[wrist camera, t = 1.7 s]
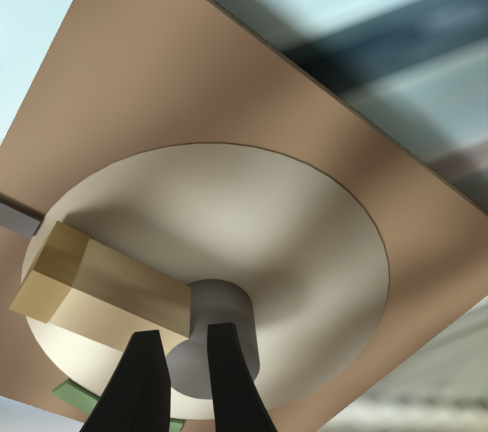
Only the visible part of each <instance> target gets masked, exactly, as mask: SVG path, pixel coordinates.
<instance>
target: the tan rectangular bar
mask: <svg viewBox="0 0 488 432" xmlns="http://www.w3.org/2000/svg"><path fill="white" fill-rule="evenodd" d="M9 309H10V310H13V311H15V312H18V313H20V314H23V315H25V316H28V317H30V318H33V319H35V320H38V321H40V322H43V323H45V324H47V322H48V323H51V324H53V325H56V326H58V327H61V328H63V329H66V330H68V331H71V332H73V333H76V334H78V335H81V336H83V337H86V338H88V339H91V340H93V341H96V342H98V343H101V344H103V345H106V346H108V347H111V348H113V349H116V350H118V351H121V352H123V353H124V351H125V349H126V346H127V344H128V342H129V340H130V338H131V335H132V334H133V333H134V332H138V331H148V330H158V329H159V332H160V336H161V340H162V345H163V349H164V353H165V358H166V362H167V366H168V370H169V375H170V379H171V387H172V388H173V389H174V390H176V391H177V392H179V393H181V394H183V395H185V396H189V397H192V398H196V399H206V400H211V399H212V392H211V383H210V374H209V365H208V356H207V329H208V325H209V324H219V323H229V322H232V323H234V324H235V325H236V328H237V334H238V339H239V343H240V346H241V350H242V353H243V356H244V359H245V362H246V364H247V367H248V370H249V372H250V375H251V377H252V379H253V382H254V381H255V379H256V378H257V376H258V374H259V370H260V360H259V352H258V344H257V336H256V328H255V320H254V312H253V305H252V301H251V299H250V297H249V296H248V294H247V293H246V292H245V291H244V290H243V289H242V288H240V287H239V286H237V285H235V284H233V283H231V282H228V281H224V280H218V279H206V280H200V281H196V282H193V283H190V284H188V285H185V284H183V283H181V282H179V281H177V280H175V279H173V278H171V277H169V276H167V275H165V274H163V273H161V272H159V271H157V270H154V269H152V268H150V267H148V266H146V265H144V264H142V263H140V262H138V261H136V260H134V259H132V258H130V257H128V256H126V255H124V254H122V253H120V252H117V251H115V250H113V249H111V248H109V247H107V246H105V245H103V244H101V243H99V242H97V241H95V240H93V239H91V238H90V236H89V235H87V234H85V233H82V232H80V231H78V230H76V229H74V228H72V227H70V226H68V225H66V224H64V223H62V222H60V221H58V220H57V222H56V223H55V225H54V227H53V228H52V230H51V232H50V233H49V235H48V236H47V238H46V240H45V241H44V243H43V245H42V246H41V248H40V249H39V251H38V253H37V254H36V256H35V258H34V260H33V262H32V264H31V266H30V268H29V270H28V272H27V274H26V276H25V277H24V279H23V281H22V283H21V285H20V287H19V289H18V291H17V293H16V295H15V297H14V299H13V301H12V303H11V305H10V307H9Z"/></svg>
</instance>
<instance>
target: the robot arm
mask: <svg viewBox="0 0 488 432" xmlns="http://www.w3.org/2000/svg"><path fill="white" fill-rule="evenodd" d="M207 356H208V365H209V374H210V383H211V392H212V400H213V409H214V418H215V431H216V432H278V431H277V429H276V427H275V425H274V423H273V422H272V420H271V418H270V416H269V414H268V412H267V410H266V408H265V406H264V404H263V402H262V400H261V398H260V395H259V393H258V391H257V389H256V386H255V384H254V382H253V379H252V377H251V375H250V372H249V370H248V367H247V364H246V362H245V359H244V356H243V353H242V350H241V346H240V343H239V339H238V334H237V328H236V325H235V324H234V323H232V322H229V323H219V324H209V325H208V329H207ZM170 412H171V379H170V375H169V370H168V366H167V362H166V358H165V353H164V349H163V345H162V340H161V336H160V332H159V329H158V330H148V331H138V332H134V333H133V334H132V335H131V338H130V340H129V342H128V344H127V346H126V349H125V351H124V353H123V355H122V357H121V359H120V361H119V363H118V365H117V367H116V369H115V371H114V373H113V375H112V377H111V378H110V380H109V382H108V384H107V386H106V388H105V389H104V391H103V393H102V395H101V396H100V398H99V400H98V402H97V404H96V405H95V407H94V409H93V410H92V412H91V414H90V415H89V417H88V419H87V420H86V422H85V423H84V425H83V427H82V428H81V430H80V431H79V432H169V428H170Z"/></svg>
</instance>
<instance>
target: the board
mask: <svg viewBox="0 0 488 432" xmlns="http://www.w3.org/2000/svg"><path fill="white" fill-rule="evenodd" d="M57 220H58V221H60V222H62V223H64V224H66V225H68V226H70V227H72V228H74V229H76V230H78V231H80V232H82V233H85V234H87V235H89V236H90V238H91V239H93V240H95V241H97V242H99V243H101V244H103V245H105V246H107V247H109V248H111V249H113V250H115V251H117V252H120V253H122V254H124V255H126V256H128V257H130V258H132V259H134V260H136V261H138V262H140V263H142V264H144V265H146V266H148V267H150V268H152V269H154V270H157V271H159V272H161V273H163V274H165V275H167V276H169V277H171V278H173V279H175V280H177V281H179V282H181V283H183V284H185V285H188V284H190V283H193V282H196V281H200V280H206V279H218V280H224V281H228V282H231V283H233V284H235V285H237V286H239V287H240V288H242V289H243V290H244V291H245V292H246V293H247V294H248V296H249V297H250V299H251V301H252V305H253V312H254V320H255V328H256V336H257V344H258V352H259V360H260V370H259V374H258V376H257V378H256V379H255V381H254V384H255V386H256V389H257V391H258V393H259V395H260V398H261V400H262V402H263V404H264V406H265V408H266V410H267V412H268V414H269V416H270V418H271V420H272V422H273V423H274V425H275V427H276V429H277V431H278V432H315V431H317V430H318V429H319V428H320V427H322V426H323V425H324V424H325V423H327V422H328V421H329V420H331V419H332V418H333V417H334V416H336V415H337V414H338V413H339V412H341V411H342V410H343V409H344V408H346V407H347V406H348V405H349V404H351V403H352V402H353V401H354V400H356V399H357V398H358V397H360V396H361V395H362V394H363V393H365V392H366V391H367V390H368V389H370V388H371V387H372V386H373V385H375V384H376V383H377V382H378V381H380V380H381V379H382V378H383V377H385V376H386V375H387V374H389V373H390V372H391V371H392V370H394V369H395V368H396V367H397V366H399V365H400V364H401V363H402V362H404V361H405V360H406V359H407V358H409V357H410V356H411V355H413V354H414V353H415V352H416V351H418V350H419V349H420V348H421V347H423V346H424V345H425V344H426V343H428V342H429V341H430V340H431V339H433V338H434V337H435V336H436V335H438V334H439V333H440V332H442V331H443V330H444V329H445V328H447V327H448V326H449V325H450V324H452V323H453V322H454V321H455V320H457V319H458V318H459V317H460V316H462V315H463V314H464V313H465V312H467V311H468V310H469V309H471V308H472V307H473V306H474V305H476V304H477V303H478V302H479V301H481V300H482V299H483V298H484V297H486V296H487V295H488V212H486V211H485V210H484V209H483V208H481V207H480V206H479V205H477V204H476V203H475V202H473V201H472V200H471V199H470V198H468V197H467V196H466V195H464V194H463V193H462V192H461V191H459V190H458V189H457V188H455V187H454V186H453V185H452V184H450V183H449V182H448V181H446V180H445V179H444V178H442V177H441V176H440V175H439V174H437V173H436V172H435V171H433V170H432V169H431V168H430V167H428V166H427V165H426V164H424V163H423V162H422V161H421V160H419V159H418V158H417V157H415V156H414V155H413V154H411V153H410V152H409V151H408V150H406V149H405V148H404V147H402V146H401V145H400V144H399V143H397V142H396V141H395V140H393V139H392V138H391V137H390V136H388V135H387V134H386V133H384V132H383V131H382V130H380V129H379V128H378V127H377V126H375V125H374V124H373V123H371V122H370V121H369V120H368V119H366V118H365V117H364V116H362V115H361V114H360V113H358V112H357V111H356V110H355V109H353V108H352V107H351V106H349V105H348V104H347V103H346V102H344V101H343V100H342V99H340V98H339V97H338V96H337V95H335V94H334V93H333V92H331V91H330V90H329V89H327V88H326V87H325V86H324V85H322V84H321V83H320V82H318V81H317V80H316V79H315V78H313V77H312V76H311V75H309V74H308V73H307V72H306V71H304V70H303V69H302V68H300V67H299V66H298V65H296V64H295V63H294V62H293V61H291V60H290V59H289V58H287V57H286V56H285V55H284V54H282V53H281V52H280V51H278V50H277V49H276V48H274V47H273V46H272V45H271V44H269V43H268V42H267V41H265V40H264V39H263V38H262V37H260V36H259V35H258V34H256V33H255V32H254V31H253V30H251V29H250V28H249V27H247V26H246V25H245V24H243V23H242V22H241V21H240V20H238V19H237V18H236V17H234V16H233V15H232V14H231V13H229V12H228V11H227V10H225V9H224V8H223V7H222V6H220V5H219V4H218V3H216V2H215V1H214V0H73V1H72V3H71V5H70V7H69V9H68V11H67V13H66V15H65V17H64V19H63V21H62V23H61V25H60V27H59V29H58V31H57V33H56V35H55V37H54V39H53V41H52V43H51V46H50V48H49V50H48V52H47V54H46V56H45V58H44V60H43V62H42V64H41V66H40V68H39V70H38V72H37V74H36V76H35V78H34V80H33V82H32V84H31V86H30V88H29V90H28V92H27V94H26V96H25V98H24V100H23V102H22V104H21V106H20V108H19V110H18V112H17V114H16V116H15V118H14V120H13V122H12V124H11V126H10V128H9V130H8V132H7V134H6V136H5V138H4V140H3V142H2V144H1V146H0V396H3V397H6V398H9V399H12V400H16V401H19V402H22V403H25V404H28V405H31V406H34V407H37V408H40V409H43V410H46V411H49V412H52V413H55V414H58V415H62V416H65V417H68V418H71V419H74V420H77V421H80V422H83V423H85V422H86V420H87V419H88V417H89V415H90V414H91V412H92V410H93V409H94V407H95V405H96V404H97V402H98V400H99V398H100V396H101V395H102V393H103V391H104V389H105V388H106V386H107V384H108V382H109V380H110V378H111V377H112V375H113V373H114V371H115V369H116V367H117V365H118V363H119V361H120V359H121V357H122V355H123V352H121V351H118V350H116V349H113V348H111V347H108V346H106V345H103V344H101V343H98V342H96V341H93V340H91V339H88V338H86V337H83V336H81V335H78V334H76V333H73V332H71V331H68V330H66V329H63V328H61V327H58V326H56V325H53V324H51V323H48V322H47V324H45V323H43V322H40V321H38V320H35V319H33V318H30V317H28V316H25V315H23V314H20V313H18V312H15V311H13V310H10V309H9V307H10V305H11V303H12V301H13V299H14V297H15V295H16V293H17V291H18V289H19V287H20V285H21V283H22V281H23V279H24V277H25V276H26V274H27V272H28V270H29V268H30V266H31V264H32V262H33V260H34V258H35V256H36V254H37V253H38V251H39V249H40V248H41V246H42V245H43V243H44V241H45V240H46V238H47V236H48V235H49V233H50V232H51V230H52V228H53V227H54V225H55V223H56V222H57ZM169 432H216V431H215V418H214V409H213V400H212V399H211V400H206V399H196V398H192V397H189V396H185V395H183V394H181V393H179V392H177V391H176V390H174V389H173V388H172V387H171V412H170V428H169Z"/></svg>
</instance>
